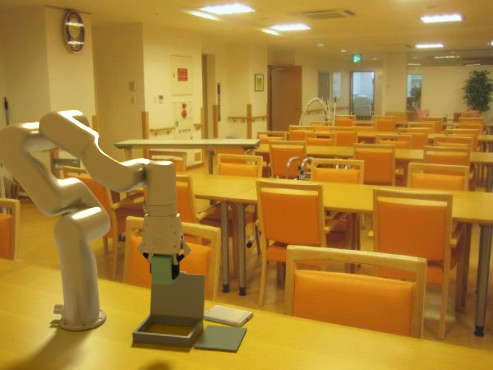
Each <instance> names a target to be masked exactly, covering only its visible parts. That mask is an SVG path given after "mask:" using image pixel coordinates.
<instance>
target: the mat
mask: <svg viewBox="0 0 493 370" xmlns="http://www.w3.org/2000/svg"><path fill="white" fill-rule="evenodd" d="M247 331H248V329H247V327H239V326H226V325H215V324H207V325H206V327H205V329H204V330H203V331H202V333H201V334H200V336H199V338H198V339H197V341H196V343H195V344H194V345H193V348H194V349H201V350H202V349H203V350H214V351H224V352H233V353H234V352H235V353H237V352H238V350H239V347H240V346H241V343H242V341H243V339H244V337H245V334H246V333H247Z"/></svg>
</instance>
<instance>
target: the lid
mask: <svg viewBox="0 0 493 370" xmlns="http://www.w3.org/2000/svg"><path fill="white" fill-rule="evenodd" d="M206 276H207V275H206V274H197V273H196V274H193V273H187V271H184V270H183V271H182V270H180V274H179V275H178V277H177V278H176V279H175V280H174V281H173V282H172V283H171V284H170V285H165V284H152V281H151V282H150V283H151V285H150V304H149V305H150V308H149V314H159V315H172V316H184V317H197V318H204V313H205V302H206V299H205V298H206V278H207V277H206Z"/></svg>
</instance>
